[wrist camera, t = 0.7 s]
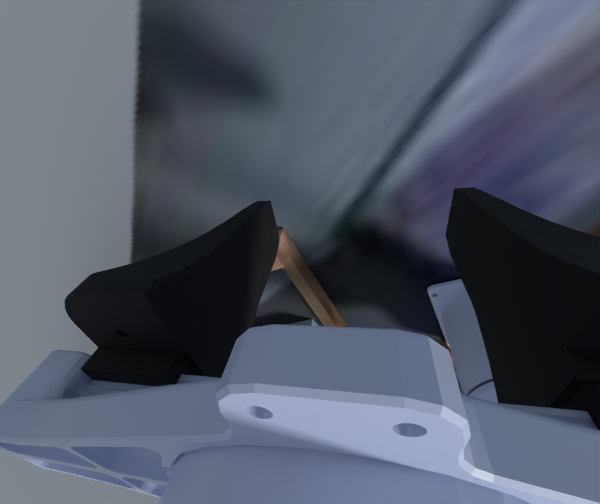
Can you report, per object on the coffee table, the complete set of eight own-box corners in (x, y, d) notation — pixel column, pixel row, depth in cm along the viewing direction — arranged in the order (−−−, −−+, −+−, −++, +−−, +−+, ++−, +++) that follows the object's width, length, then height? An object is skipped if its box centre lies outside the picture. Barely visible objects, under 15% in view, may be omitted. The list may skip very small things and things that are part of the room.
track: (369, 361, 35) (370, 388, 32) (280, 372, 41) (274, 397, 38) (283, 228, 24) (274, 252, 22) (178, 267, 30) (161, 291, 27)
